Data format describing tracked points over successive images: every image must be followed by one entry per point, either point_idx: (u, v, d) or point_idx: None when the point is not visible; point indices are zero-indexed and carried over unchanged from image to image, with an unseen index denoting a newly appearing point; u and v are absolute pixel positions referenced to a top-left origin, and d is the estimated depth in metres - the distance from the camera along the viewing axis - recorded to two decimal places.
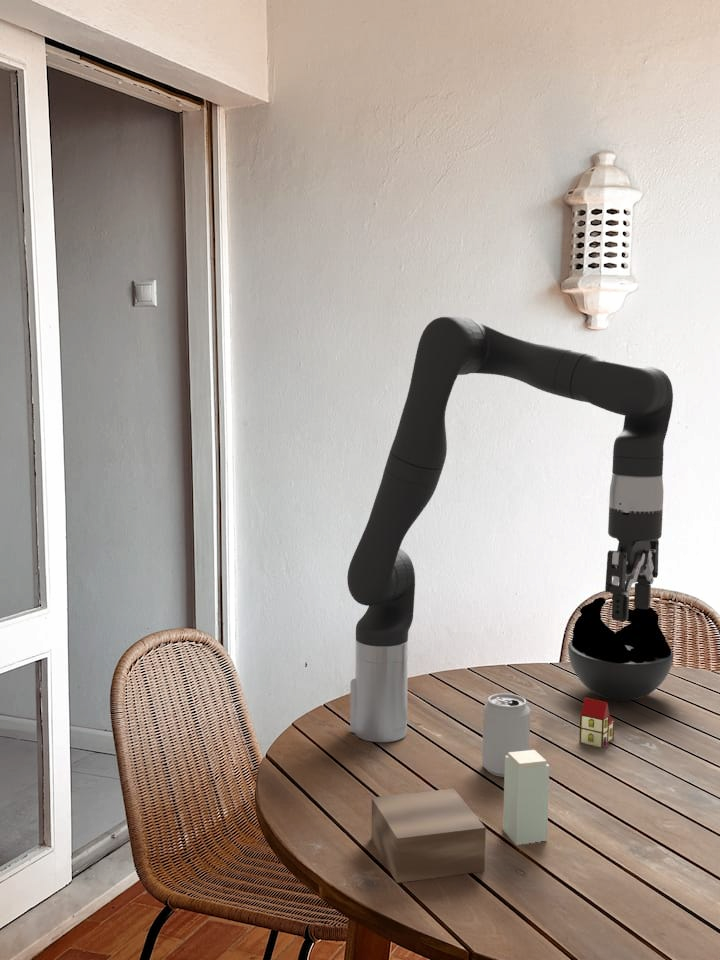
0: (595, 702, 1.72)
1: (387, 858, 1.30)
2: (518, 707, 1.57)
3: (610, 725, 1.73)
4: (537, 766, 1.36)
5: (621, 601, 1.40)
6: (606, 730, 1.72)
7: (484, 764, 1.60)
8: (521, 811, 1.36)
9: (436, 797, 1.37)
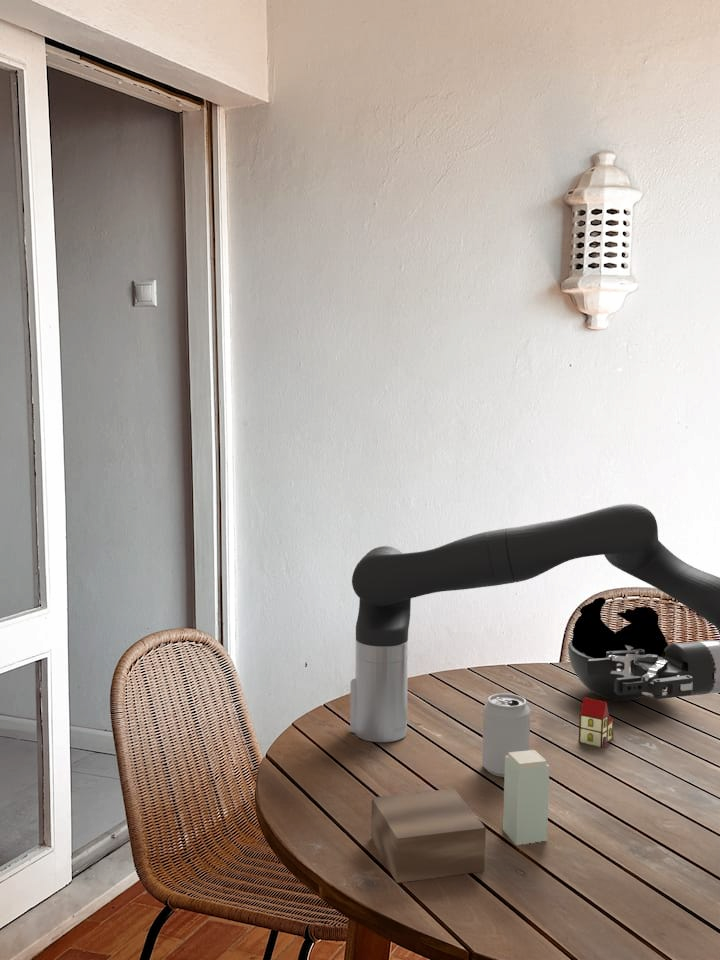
0: (594, 702, 1.72)
1: (387, 858, 1.30)
2: (518, 707, 1.57)
3: (609, 725, 1.73)
4: (537, 766, 1.36)
5: (639, 691, 1.34)
6: (605, 730, 1.72)
7: (484, 764, 1.60)
8: (521, 811, 1.36)
9: (436, 797, 1.37)
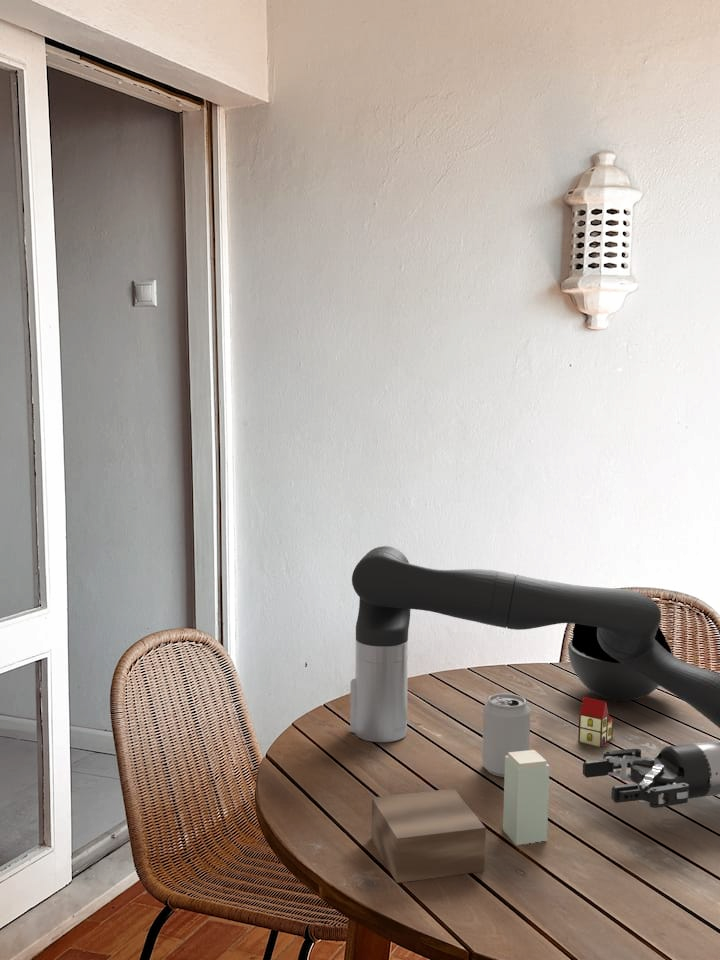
0: (594, 701, 1.72)
1: (387, 858, 1.30)
2: (518, 707, 1.57)
3: (609, 724, 1.73)
4: (537, 766, 1.36)
5: (636, 799, 1.36)
6: (605, 729, 1.72)
7: (484, 764, 1.60)
8: (521, 811, 1.36)
9: (436, 797, 1.37)
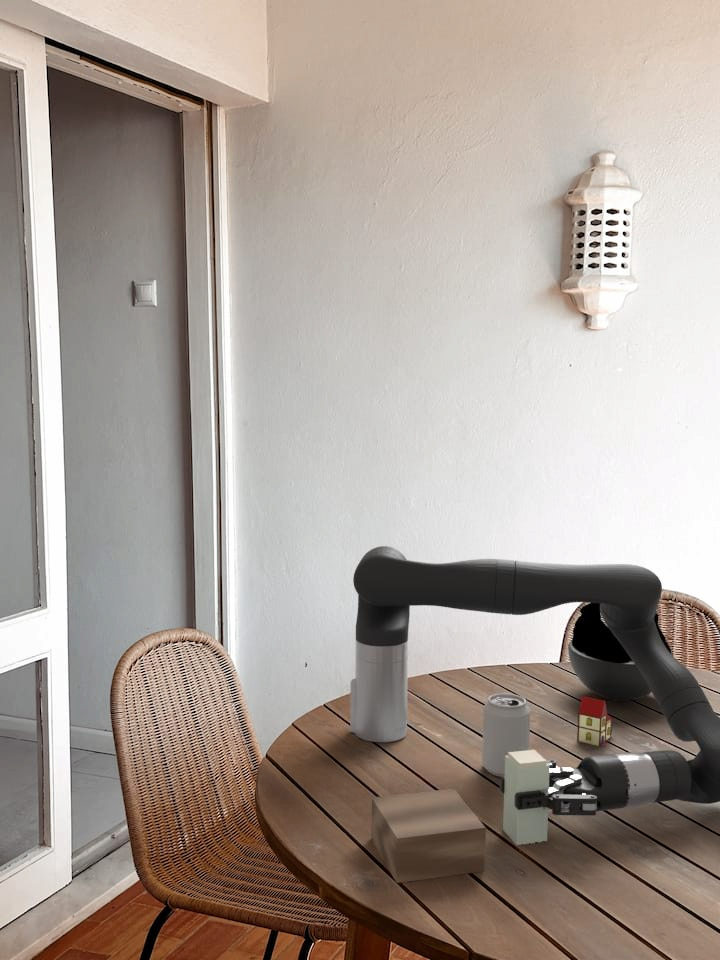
0: (593, 701, 1.72)
1: (387, 858, 1.30)
2: (518, 707, 1.57)
3: (608, 724, 1.74)
4: (537, 765, 1.36)
5: (539, 805, 1.35)
6: (604, 729, 1.72)
7: (484, 764, 1.60)
8: (521, 811, 1.36)
9: (436, 797, 1.37)
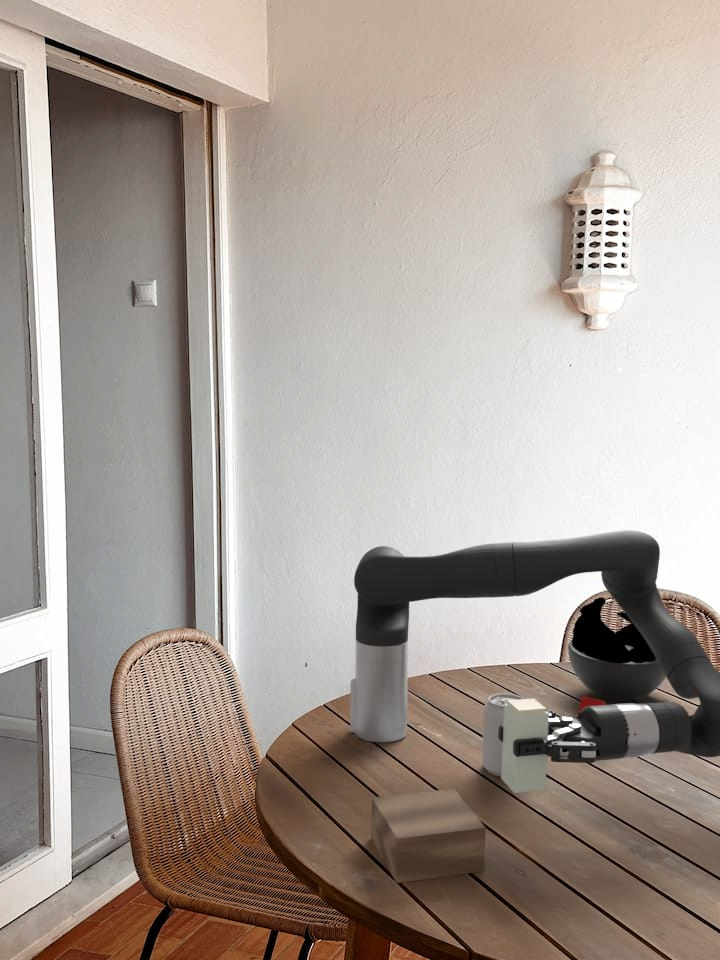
0: (592, 701, 1.72)
1: (387, 858, 1.30)
2: None
3: None
4: (536, 713, 1.35)
5: (537, 753, 1.34)
6: None
7: (484, 764, 1.60)
8: (519, 758, 1.35)
9: (436, 797, 1.37)
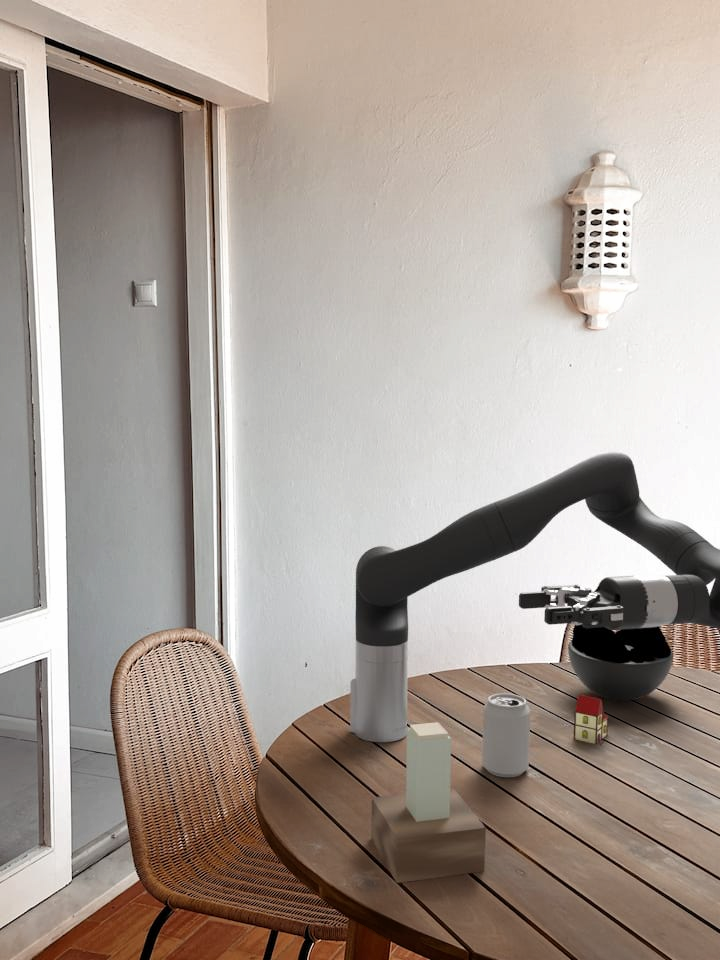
0: (589, 699, 1.73)
1: (387, 858, 1.30)
2: (518, 707, 1.57)
3: (604, 722, 1.75)
4: (438, 738, 1.30)
5: (569, 620, 1.33)
6: (600, 727, 1.73)
7: (484, 764, 1.60)
8: (421, 785, 1.29)
9: None
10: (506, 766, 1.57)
